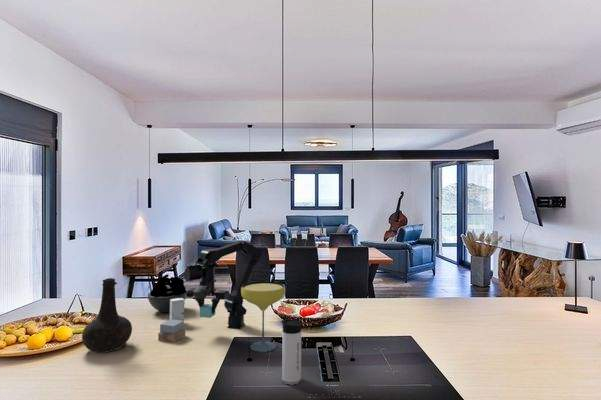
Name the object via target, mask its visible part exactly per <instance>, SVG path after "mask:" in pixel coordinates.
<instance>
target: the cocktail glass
mask: <svg viewBox="0 0 601 400" xmlns="http://www.w3.org/2000/svg"><path fill="white" fill-rule="evenodd" d="M241 295H242V297H243V300H245V301H246V302H248V303H250V304H252V305H255V306H256V307H258V308H259V310H260V311H261V312H262V314H261V315H262V319H261V320H262V322H261V324H262V326H261V327H262V329H261V333H262V334H261V341H257V342H253V343H252V345H251V344H250V345H251V346H250V345H249V348H250V347H251V349H252V350H253V349H254V350H256V351H263V352H262V353H268V352H267V351H269V352H272V351H274V350H275V349H276V348H277V344H275V343H274V342H271V341H266V340H265V311H266V310H267V309H268V307H270V306H271V305H273V304H275V303H276V304H277V302H279V301H280V300H282V299H283V298H284V297H285V295H286V286H285V284H283V283H281V282H277V281H276V282H275V281H252V282H247V284H244V285H243V286H242V287H241ZM251 349H250V350H251ZM273 349H274V350H273ZM252 350H251V351H252ZM271 350H272V351H271Z"/></svg>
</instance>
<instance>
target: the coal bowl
mask: <svg viewBox="0 0 601 400" xmlns="http://www.w3.org/2000/svg"><path fill="white" fill-rule="evenodd" d="M169 275H170V274H169V273H168V274H164V275H162V277H160V278H158V281H157V282H156V283H155V284H154V286H153V287H152V289H151V290H150V292H148V293H147V299H148V301H149V304H150V306H151V307H152V308H154V310H157V311H159V312H163V313H170V299H176V298H183V299H184V302H185V300H186V298H187V297H186V292H187V291H188V290H186V286H185V279H182V278H180V277H179V276H173V277H172V276H171V277H169ZM167 285H168V286H169V287H168V286H167Z"/></svg>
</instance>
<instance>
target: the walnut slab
mask: <svg viewBox="0 0 601 400" xmlns="http://www.w3.org/2000/svg"><path fill="white" fill-rule="evenodd" d="M157 334H158V341H160V342H161V341H162V342H168V343H176V342H178V341H179V340H181V339H183V338H185V336H186V328H184V329H183V330H181V331H179V332H177V333H175V334H168V333H161V332H160V331H159V332H158V333H157Z"/></svg>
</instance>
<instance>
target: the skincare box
mask: <svg viewBox="0 0 601 400" xmlns="http://www.w3.org/2000/svg"><path fill="white" fill-rule="evenodd" d="M170 319H172V320H180V321H184V322H185V301H184V299H183V298H176V299H170V312H169V320H170Z"/></svg>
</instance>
